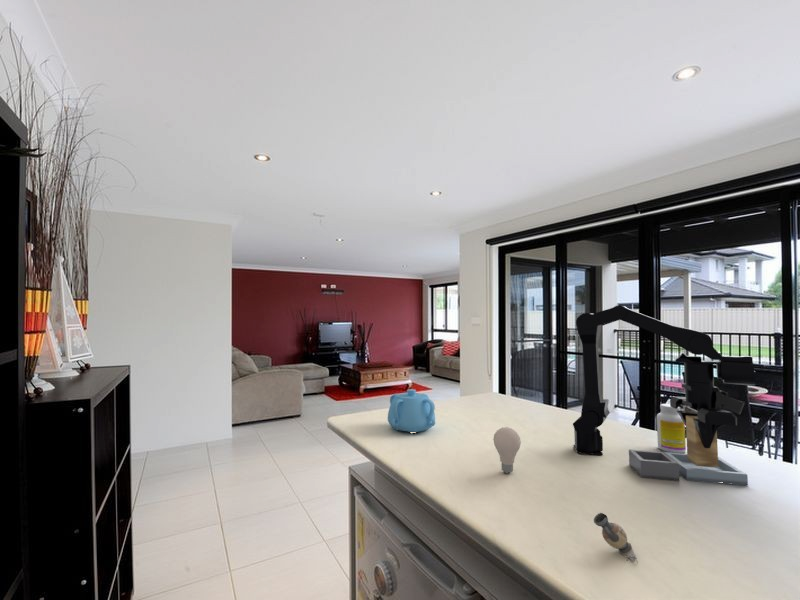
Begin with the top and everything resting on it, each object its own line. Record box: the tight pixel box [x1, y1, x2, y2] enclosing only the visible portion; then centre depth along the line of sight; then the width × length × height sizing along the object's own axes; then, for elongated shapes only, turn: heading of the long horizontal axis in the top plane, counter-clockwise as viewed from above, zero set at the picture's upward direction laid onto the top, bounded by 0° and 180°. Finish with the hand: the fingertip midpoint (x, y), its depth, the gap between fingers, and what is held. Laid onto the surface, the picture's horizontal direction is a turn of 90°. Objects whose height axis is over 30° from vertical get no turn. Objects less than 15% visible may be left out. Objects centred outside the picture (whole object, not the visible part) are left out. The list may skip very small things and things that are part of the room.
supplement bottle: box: [656, 403, 687, 454], centre depth 110 cm, size 7×7×13 cm
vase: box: [593, 512, 639, 564], centre depth 61 cm, size 5×5×6 cm
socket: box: [628, 449, 680, 482], centre depth 93 cm, size 8×8×4 cm
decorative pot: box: [387, 388, 436, 433], centre depth 131 cm, size 16×16×14 cm
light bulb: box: [492, 426, 522, 474], centre depth 93 cm, size 7×7×11 cm
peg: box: [685, 416, 719, 468], centre depth 93 cm, size 4×4×11 cm
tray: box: [663, 451, 749, 486], centre depth 93 cm, size 12×12×2 cm
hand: (701, 444), depth 93 cm, fingers closed on peg, 4 cm apart
